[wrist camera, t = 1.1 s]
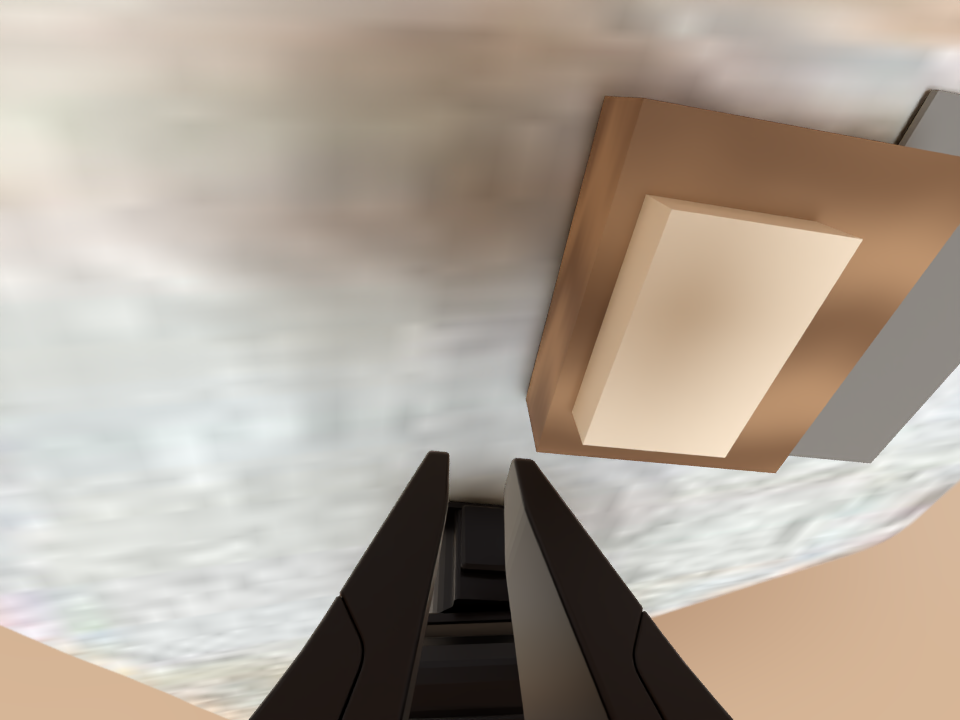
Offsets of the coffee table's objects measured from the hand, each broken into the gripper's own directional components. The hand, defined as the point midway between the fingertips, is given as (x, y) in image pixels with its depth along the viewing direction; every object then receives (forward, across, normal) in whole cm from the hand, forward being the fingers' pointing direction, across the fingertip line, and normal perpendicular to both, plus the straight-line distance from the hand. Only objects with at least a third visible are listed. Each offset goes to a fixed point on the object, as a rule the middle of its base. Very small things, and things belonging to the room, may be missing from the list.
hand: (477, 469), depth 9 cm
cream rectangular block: (+8, -8, 0) cm, 11 cm away
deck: (+12, -10, 0) cm, 16 cm away
